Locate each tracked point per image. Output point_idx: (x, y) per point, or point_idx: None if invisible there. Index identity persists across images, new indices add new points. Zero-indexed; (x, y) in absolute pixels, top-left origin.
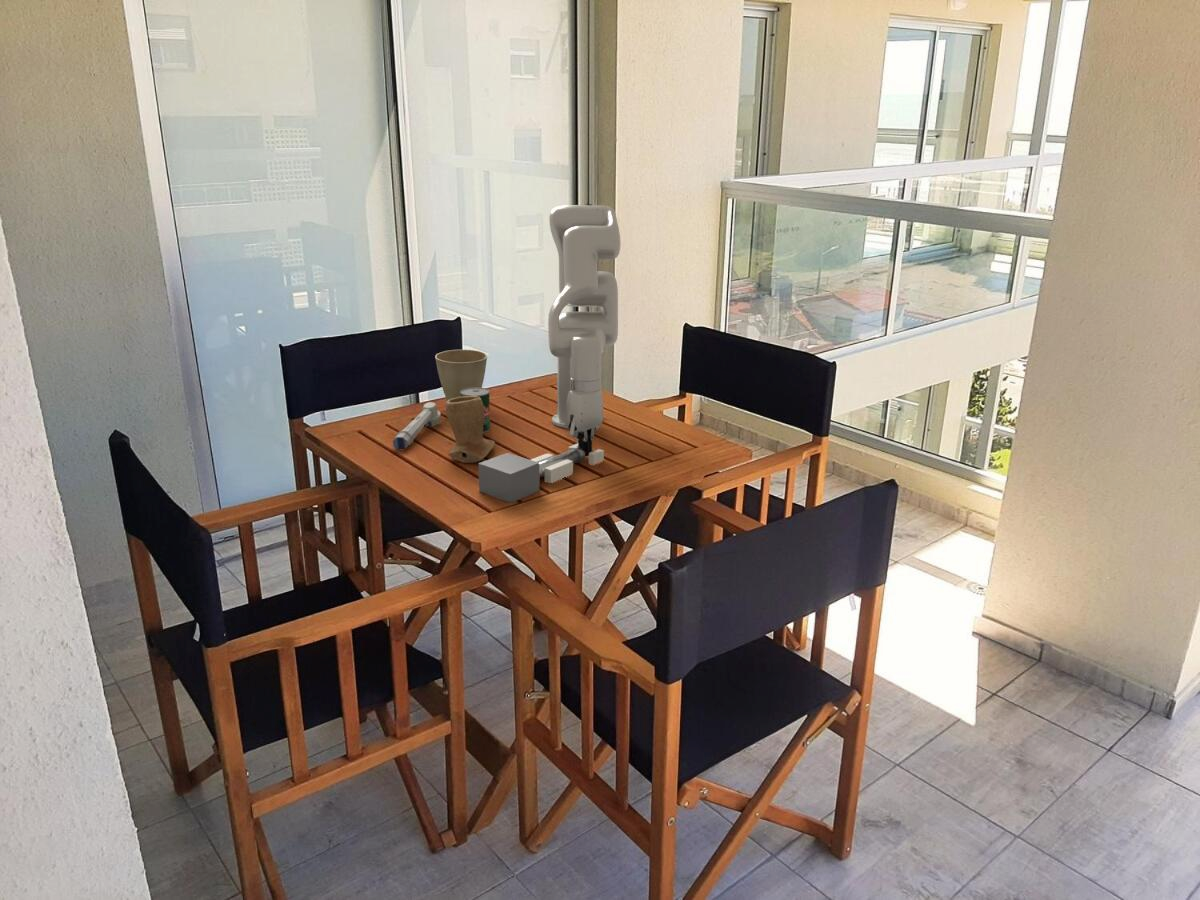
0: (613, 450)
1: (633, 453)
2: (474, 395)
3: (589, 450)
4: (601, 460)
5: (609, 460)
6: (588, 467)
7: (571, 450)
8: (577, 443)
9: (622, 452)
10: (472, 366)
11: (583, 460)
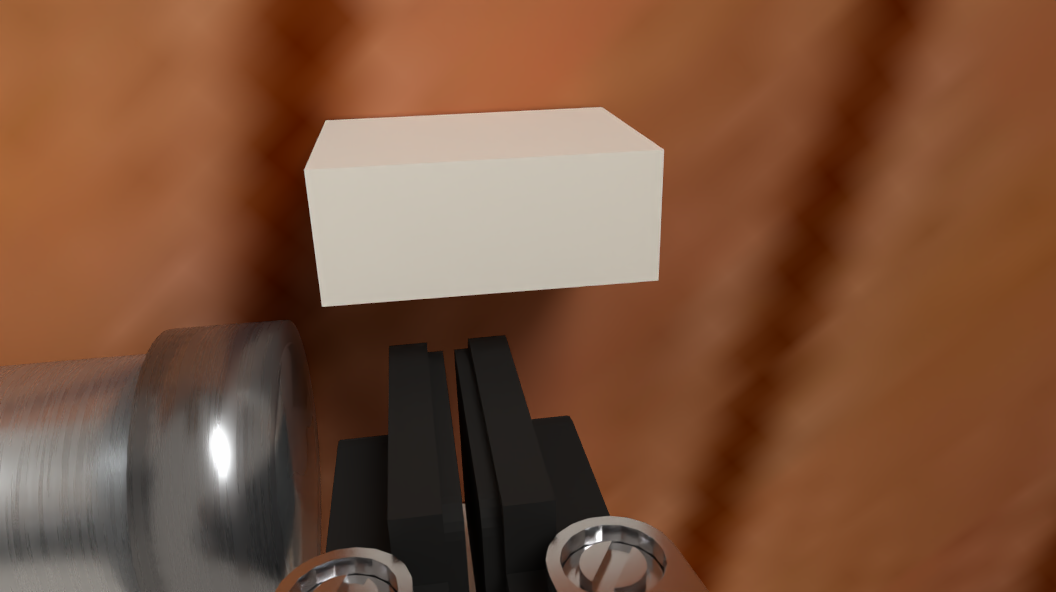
0: (1026, 361)
1: (1044, 574)
2: None
3: (473, 572)
4: None
5: None
6: None
7: (12, 575)
8: (624, 154)
9: (1014, 480)
10: None
11: (318, 496)
